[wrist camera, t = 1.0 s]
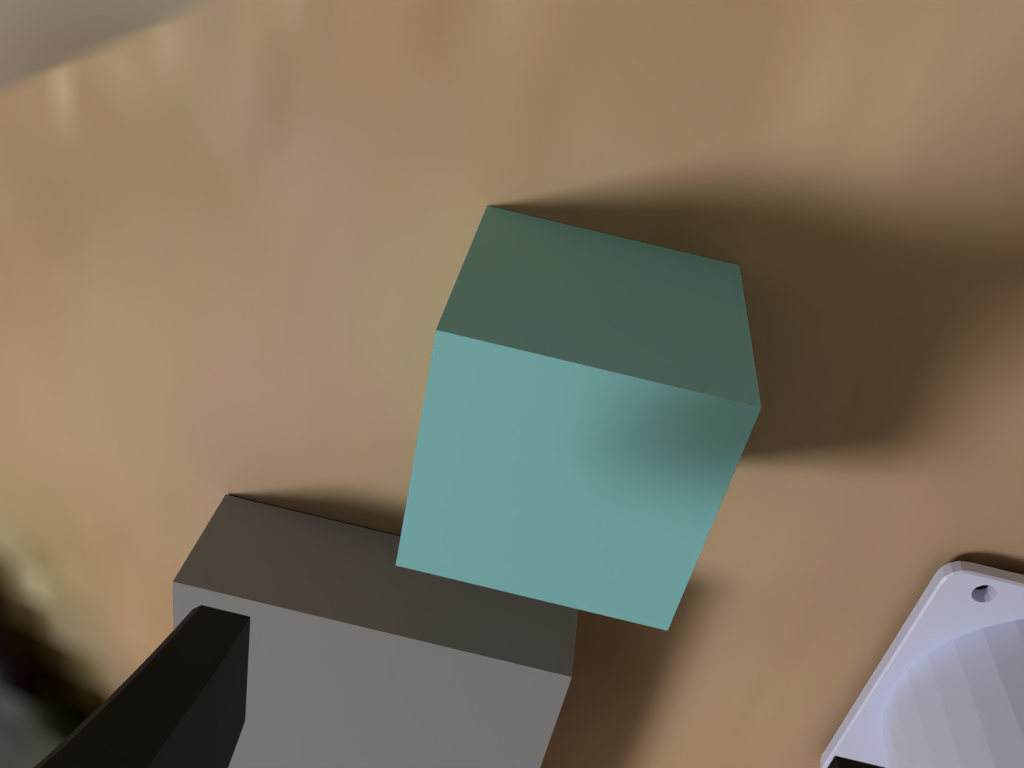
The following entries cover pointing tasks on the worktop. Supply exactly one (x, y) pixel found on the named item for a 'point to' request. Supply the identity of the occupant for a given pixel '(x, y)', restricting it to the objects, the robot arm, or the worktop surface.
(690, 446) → the teal cube
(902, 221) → the worktop surface
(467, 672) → the base slab
